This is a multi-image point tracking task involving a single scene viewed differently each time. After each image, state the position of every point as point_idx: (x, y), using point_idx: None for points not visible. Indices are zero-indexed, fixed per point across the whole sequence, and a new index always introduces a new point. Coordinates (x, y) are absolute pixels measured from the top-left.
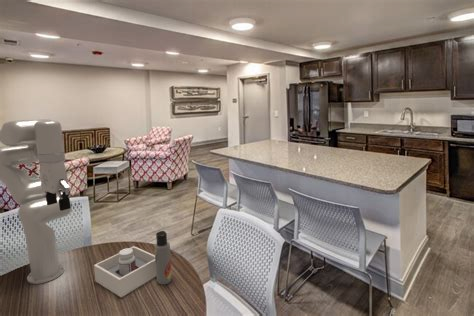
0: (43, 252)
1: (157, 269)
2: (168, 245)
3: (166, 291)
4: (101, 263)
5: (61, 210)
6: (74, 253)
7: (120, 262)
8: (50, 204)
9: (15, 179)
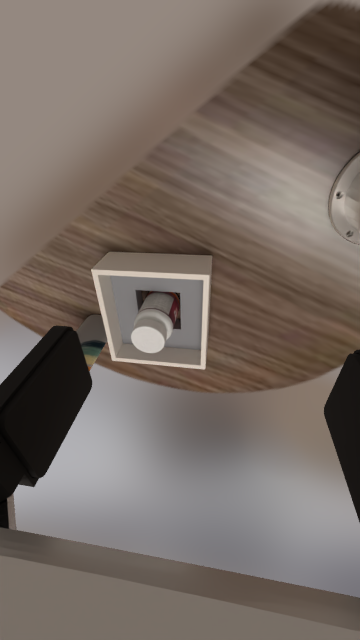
0: None
1: (83, 332)
2: None
3: (67, 306)
4: (203, 290)
5: (59, 329)
6: None
7: (148, 311)
8: (343, 367)
9: None
